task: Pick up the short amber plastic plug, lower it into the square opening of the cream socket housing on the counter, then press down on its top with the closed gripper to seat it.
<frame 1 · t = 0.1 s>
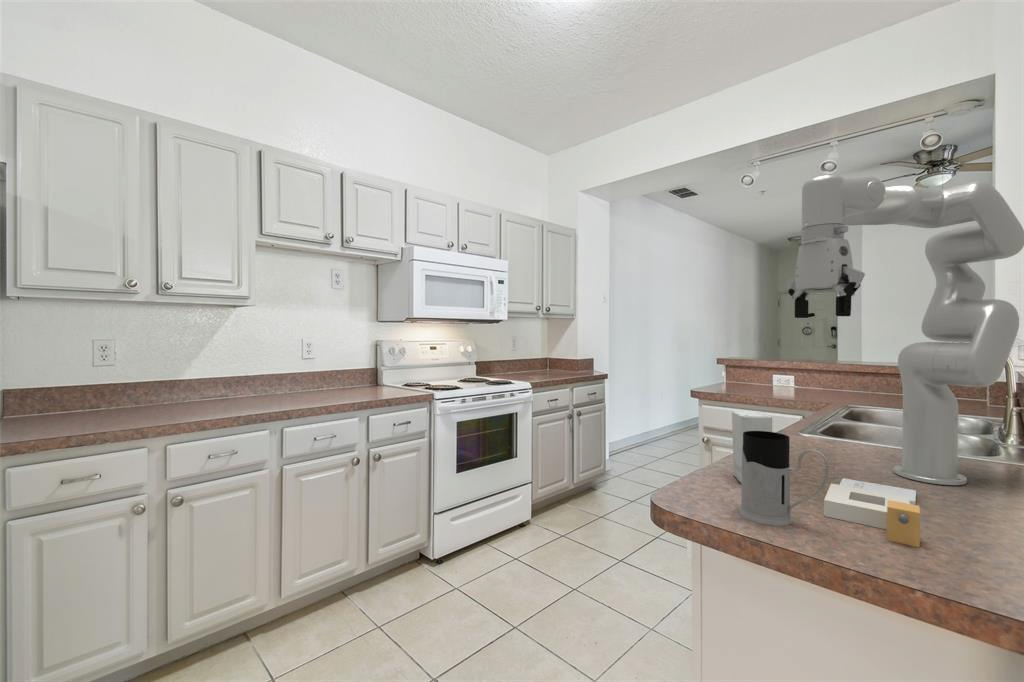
hand: (821, 317, 97), 37 cm above the countertop, tool pointing down, fingers open, 9 cm apart
external hard drive: (876, 496, 96), on the countertop
socket: (866, 514, 84), on the countertop
plug: (902, 539, 74), on the countertop
skincare box: (751, 482, 103), on the countertop
glass holder: (781, 521, 82), on the countertop
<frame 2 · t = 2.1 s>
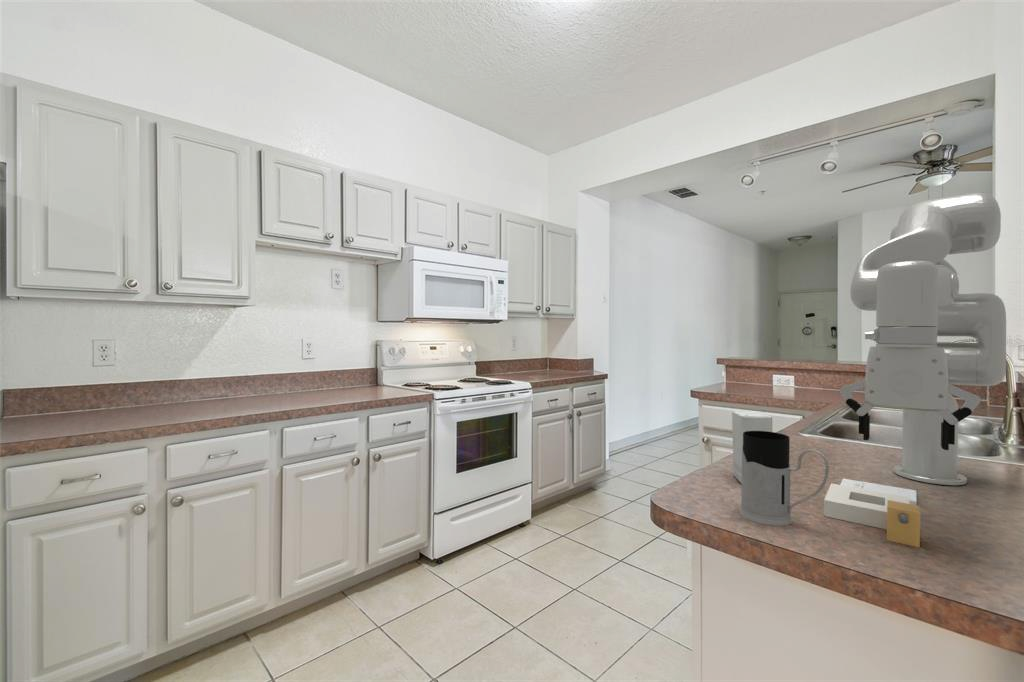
hand: (903, 443, 74), 16 cm above the countertop, tool pointing down, fingers open, 9 cm apart
nothing on the countertop moved.
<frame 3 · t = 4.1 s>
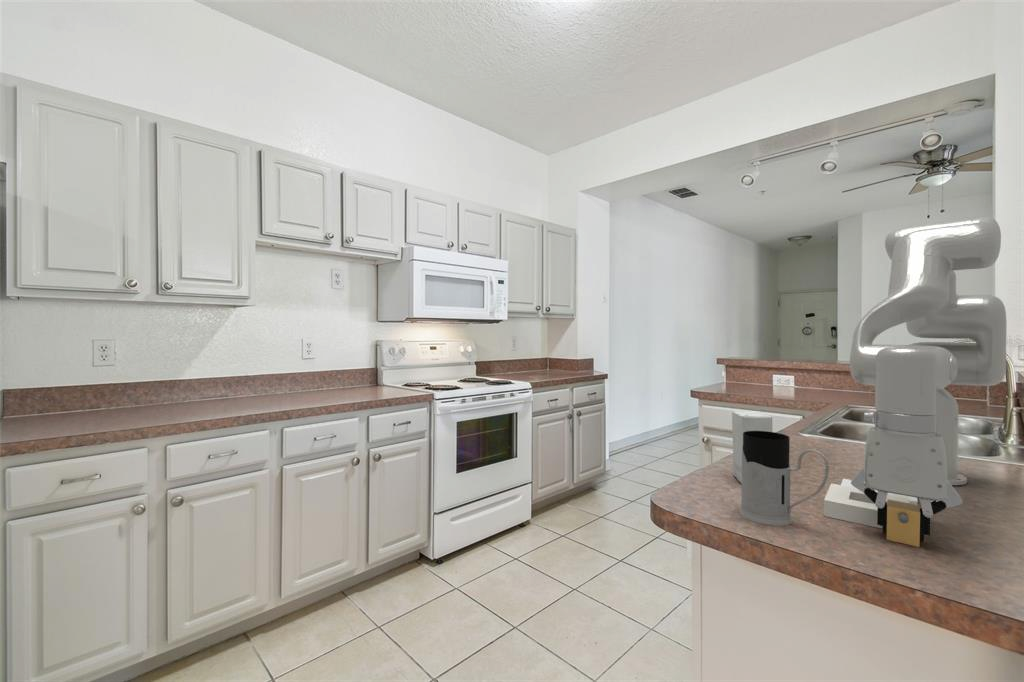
hand: (902, 533, 74), 1 cm above the countertop, tool pointing down, fingers closed on plug, 3 cm apart
plug: (902, 538, 74), on the countertop, touching gripper
everything else where it was.
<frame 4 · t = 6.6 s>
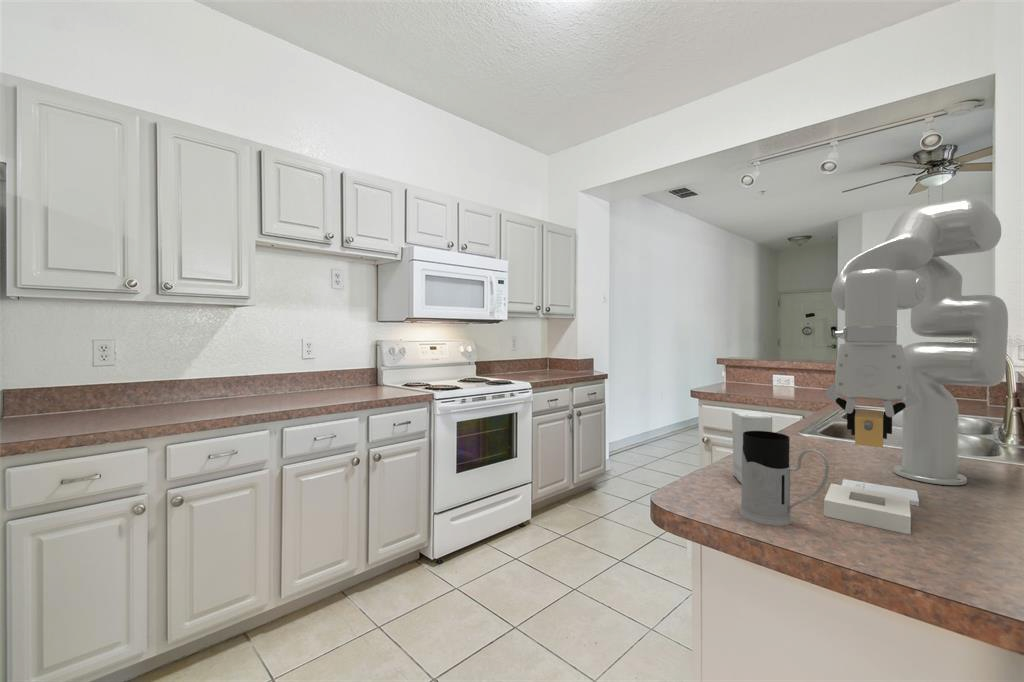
hand: (869, 434, 84), 15 cm above the countertop, tool pointing down, fingers closed on plug, 3 cm apart
plug: (869, 441, 84), point 14 cm above the countertop, tilted 15°, touching gripper
everything else where it was.
when the fingers open (4 cm above the countertop, at t = 9.1 s): plug drops 2 cm, resting on socket.
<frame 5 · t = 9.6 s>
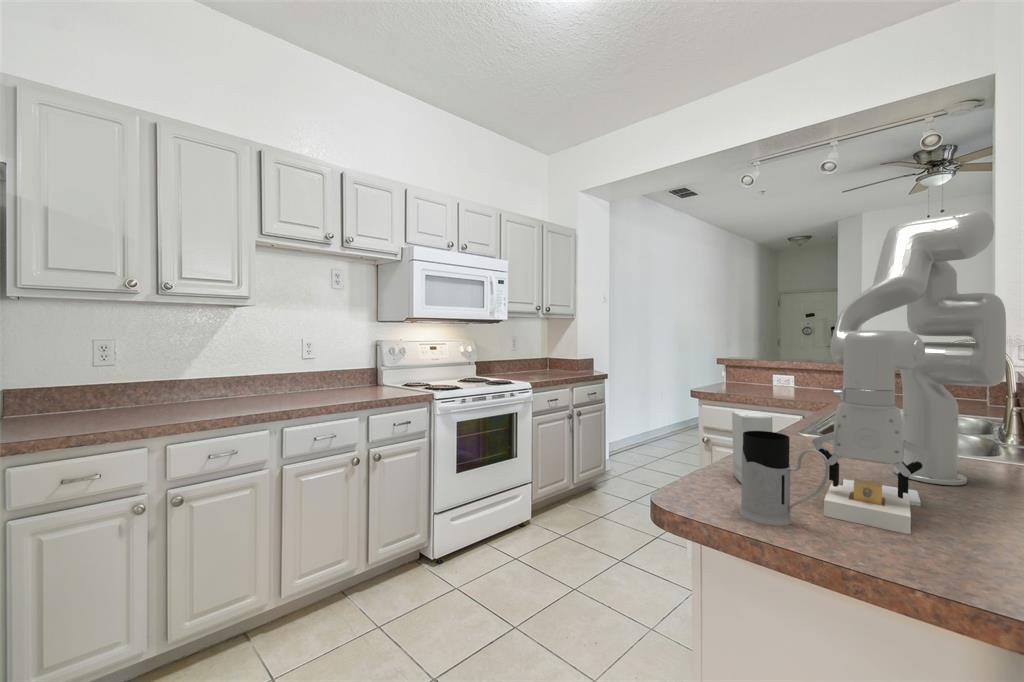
hand: (867, 490, 84), 5 cm above the countertop, tool pointing down, fingers open, 9 cm apart
plug: (867, 512, 84), resting on socket
everything else where it was.
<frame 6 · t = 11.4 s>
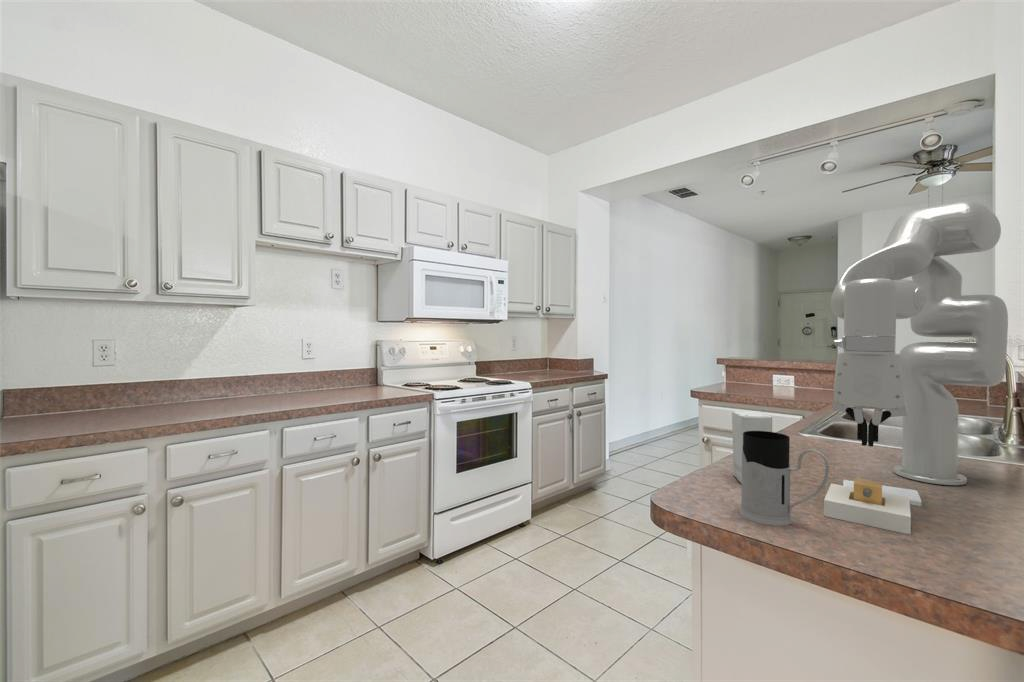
hand: (867, 444, 84), 13 cm above the countertop, tool pointing down, fingers closed
nothing on the countertop moved.
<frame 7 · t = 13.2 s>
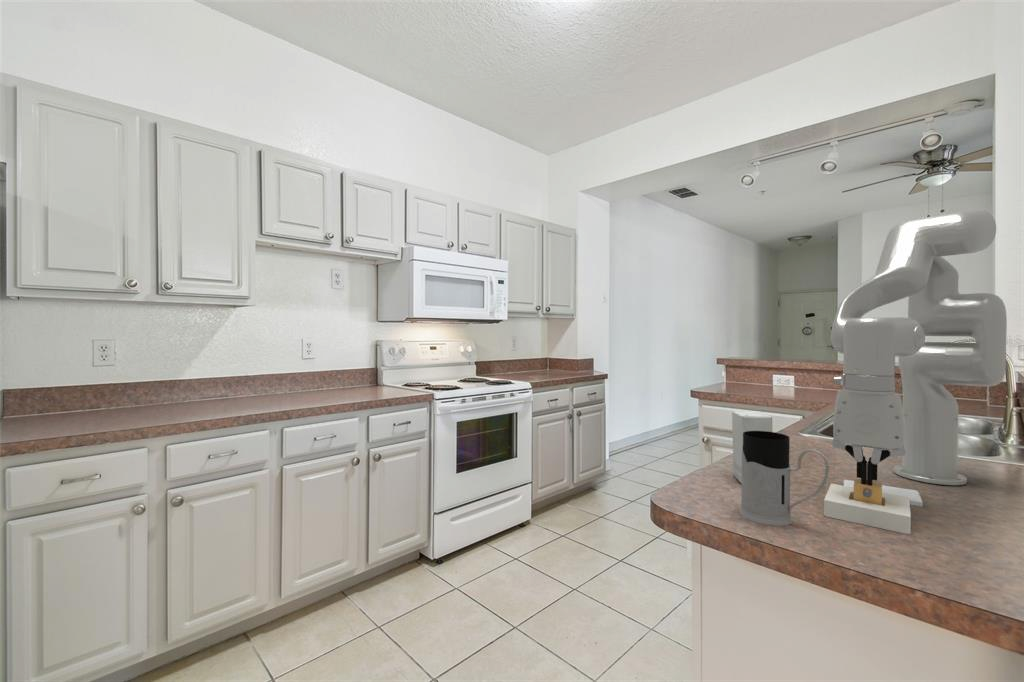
hand: (866, 482, 84), 6 cm above the countertop, tool pointing down, fingers closed
plug: (867, 512, 84), resting on socket, touching gripper
everything else where it was.
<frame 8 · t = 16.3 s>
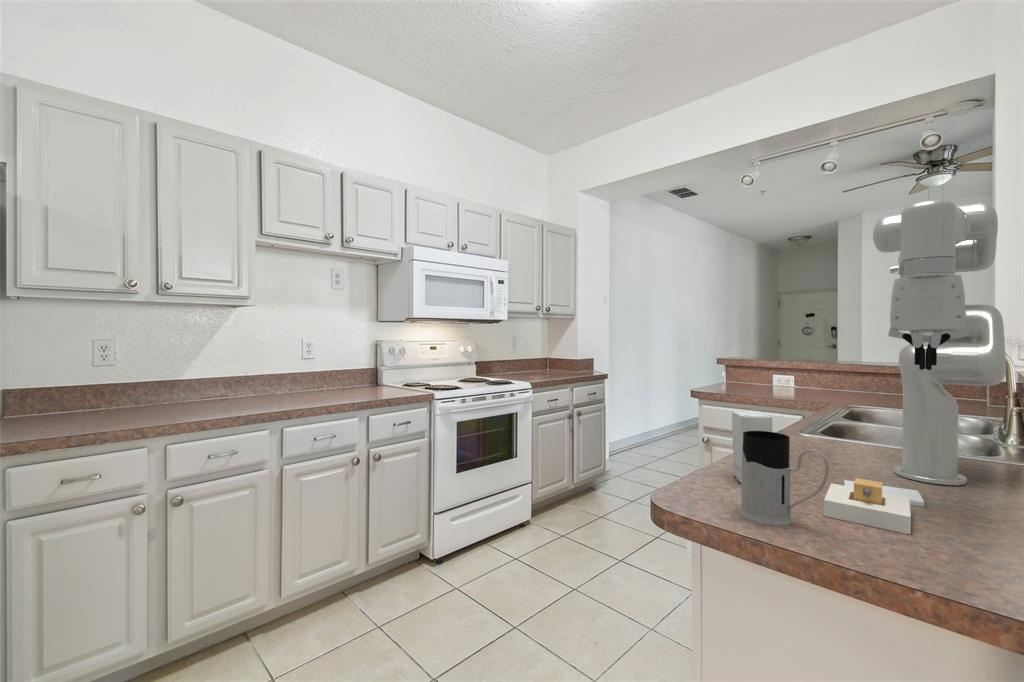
hand: (925, 369, 84), 27 cm above the countertop, tool pointing down, fingers closed
plug: (867, 512, 84), resting on socket
everything else where it was.
at the end: plug 0.2 cm off-centre on the socket, point 0.5 cm above the socket's base; plug tilted 0°; the gripper is holding nothing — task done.
